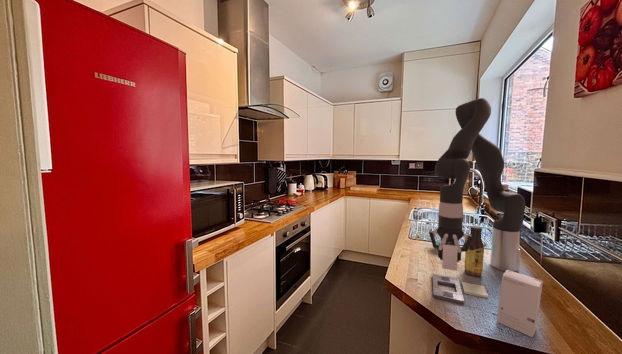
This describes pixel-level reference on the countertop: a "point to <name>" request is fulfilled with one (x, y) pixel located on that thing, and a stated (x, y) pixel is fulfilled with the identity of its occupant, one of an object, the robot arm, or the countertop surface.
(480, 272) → the sauce bottle
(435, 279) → the rectangular plate with hole
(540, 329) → the countertop surface
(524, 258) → the countertop surface
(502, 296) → the skincare box
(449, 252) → the square post
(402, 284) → the countertop surface
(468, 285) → the pad
